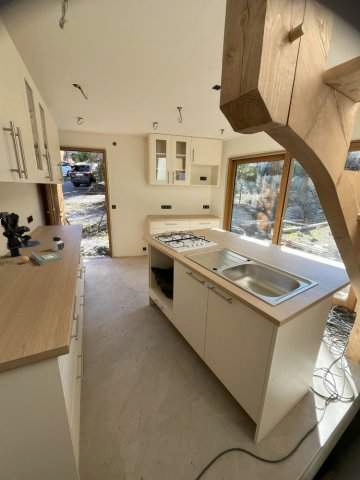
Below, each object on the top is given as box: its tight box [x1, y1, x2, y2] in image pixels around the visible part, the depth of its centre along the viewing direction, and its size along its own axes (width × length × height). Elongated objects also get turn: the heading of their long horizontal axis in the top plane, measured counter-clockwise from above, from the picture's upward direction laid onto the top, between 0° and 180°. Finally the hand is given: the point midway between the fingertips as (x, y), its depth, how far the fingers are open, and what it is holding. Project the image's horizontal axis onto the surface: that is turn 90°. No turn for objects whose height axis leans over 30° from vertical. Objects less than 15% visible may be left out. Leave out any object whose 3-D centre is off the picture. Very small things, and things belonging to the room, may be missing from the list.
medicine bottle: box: [50, 236, 65, 252], centre depth 184 cm, size 7×7×12 cm
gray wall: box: [30, 251, 44, 266], centre depth 158 cm, size 24×2×4 cm, turn 48°
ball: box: [20, 255, 30, 264], centre depth 154 cm, size 5×5×5 cm
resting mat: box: [37, 252, 63, 264], centre depth 166 cm, size 16×14×1 cm
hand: (21, 244), depth 148 cm, fingers open, 9 cm apart
